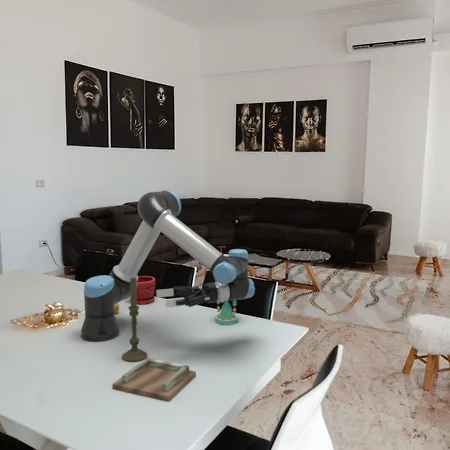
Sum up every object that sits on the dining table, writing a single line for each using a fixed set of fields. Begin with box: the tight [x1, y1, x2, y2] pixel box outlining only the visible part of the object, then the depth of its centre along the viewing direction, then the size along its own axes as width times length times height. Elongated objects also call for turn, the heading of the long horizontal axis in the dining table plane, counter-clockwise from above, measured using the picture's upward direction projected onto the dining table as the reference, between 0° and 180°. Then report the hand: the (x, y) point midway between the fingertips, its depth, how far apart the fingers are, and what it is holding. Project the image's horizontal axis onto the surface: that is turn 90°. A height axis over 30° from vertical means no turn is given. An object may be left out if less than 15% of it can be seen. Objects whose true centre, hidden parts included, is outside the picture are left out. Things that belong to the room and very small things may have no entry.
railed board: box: [111, 357, 197, 402], centre depth 146 cm, size 20×18×4 cm
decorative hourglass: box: [214, 255, 239, 326], centre depth 203 cm, size 11×11×30 cm
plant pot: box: [137, 275, 156, 305], centre depth 232 cm, size 13×13×12 cm
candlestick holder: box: [121, 277, 148, 363], centre depth 164 cm, size 9×9×30 cm
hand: (161, 298), depth 166 cm, fingers open, 13 cm apart
